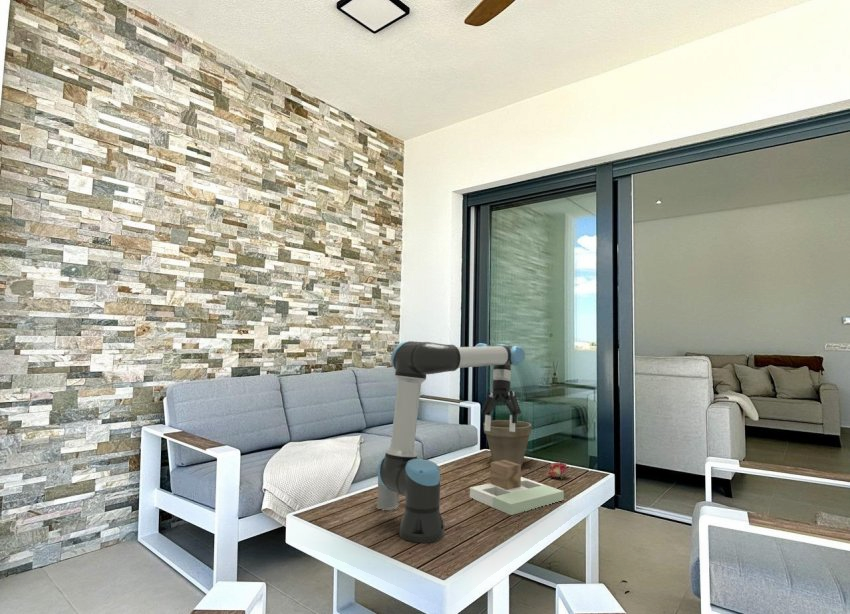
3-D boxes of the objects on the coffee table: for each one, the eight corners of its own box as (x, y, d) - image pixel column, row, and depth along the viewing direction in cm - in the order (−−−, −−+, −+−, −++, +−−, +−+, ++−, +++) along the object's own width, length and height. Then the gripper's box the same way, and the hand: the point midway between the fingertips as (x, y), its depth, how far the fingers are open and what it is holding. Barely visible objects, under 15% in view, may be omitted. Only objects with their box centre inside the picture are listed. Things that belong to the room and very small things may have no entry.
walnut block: (506, 489, 199) (507, 467, 200) (490, 483, 207) (490, 462, 208) (520, 486, 204) (520, 464, 204) (504, 480, 212) (504, 459, 212)
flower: (574, 476, 228) (568, 460, 233) (562, 475, 223) (556, 458, 228) (560, 484, 234) (554, 468, 239) (547, 483, 229) (541, 467, 234)
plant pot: (473, 464, 255) (473, 422, 256) (502, 457, 271) (502, 417, 273) (511, 474, 236) (512, 429, 238) (540, 466, 253) (540, 424, 254)
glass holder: (374, 503, 192) (375, 465, 193) (409, 501, 195) (410, 463, 196) (378, 511, 183) (379, 471, 184) (414, 508, 187) (415, 469, 188)
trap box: (510, 515, 181) (510, 504, 182) (469, 497, 201) (469, 487, 201) (563, 501, 198) (563, 491, 199) (521, 485, 218) (521, 476, 218)
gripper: (530, 380, 201) (529, 432, 195) (486, 383, 220) (483, 431, 213) (518, 377, 197) (517, 431, 190) (474, 380, 215) (471, 429, 209)
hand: (499, 431), depth 202 cm, fingers open, 13 cm apart
